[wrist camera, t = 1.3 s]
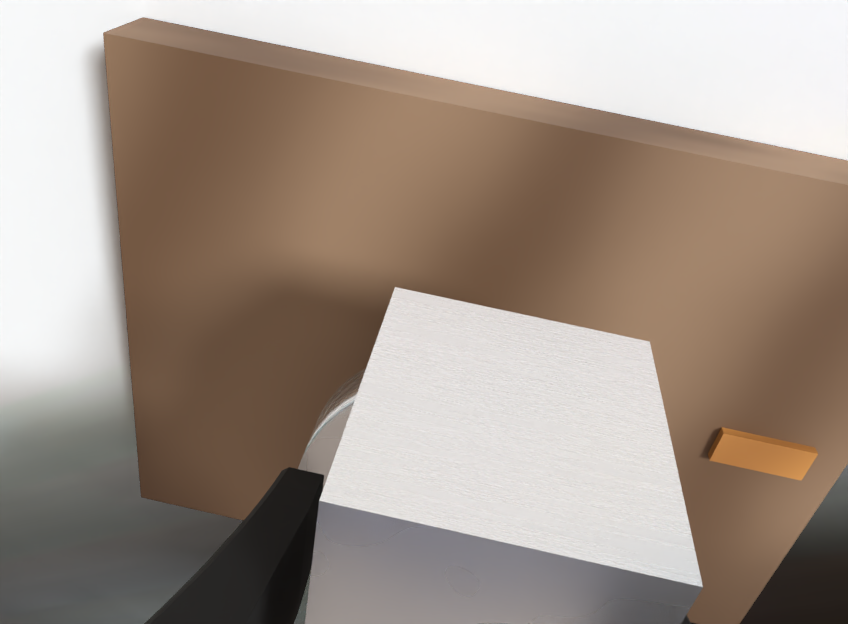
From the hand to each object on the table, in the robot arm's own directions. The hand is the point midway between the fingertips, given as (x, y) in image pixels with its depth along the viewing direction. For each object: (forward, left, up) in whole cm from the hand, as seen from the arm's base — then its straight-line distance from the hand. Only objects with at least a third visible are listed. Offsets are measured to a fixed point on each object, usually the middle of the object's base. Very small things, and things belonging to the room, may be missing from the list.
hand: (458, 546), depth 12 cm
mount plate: (0, 0, -6) cm, 6 cm away
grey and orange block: (0, 0, -2) cm, 2 cm away
